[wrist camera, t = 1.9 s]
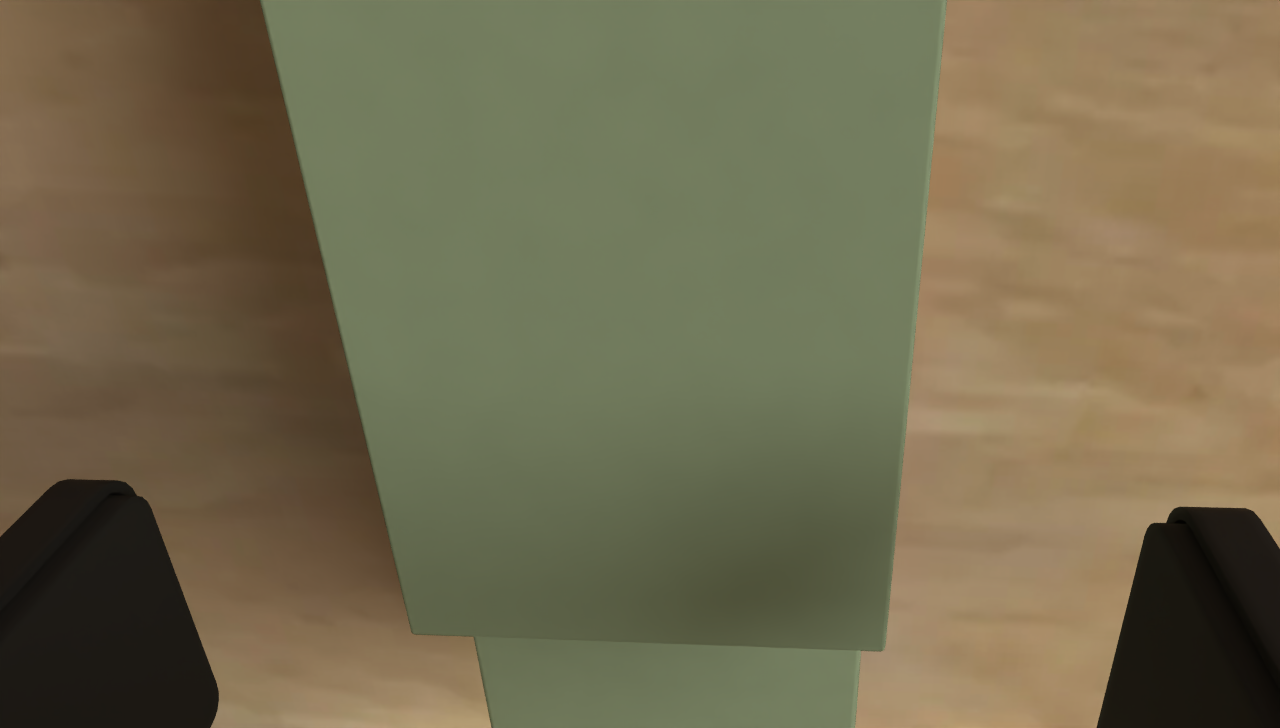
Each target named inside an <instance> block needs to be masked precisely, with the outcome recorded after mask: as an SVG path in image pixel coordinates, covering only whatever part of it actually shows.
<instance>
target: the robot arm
mask: <svg viewBox="0 0 1280 728" xmlns="http://www.w3.org/2000/svg"><path fill="white" fill-rule="evenodd" d="M218 702H219V691H218V687H217V683H216V680H215V678H214V675H213V672H212V670H211V667H210V664H209V662H208V659H207V656H206V654H205V651H204V648H203V646H202V643H201V640H200V638H199V635H198V632H197V630H196V627H195V624H194V622H193V619H192V616H191V614H190V611H189V608H188V606H187V603H186V600H185V598H184V595H183V592H182V590H181V587H180V584H179V582H178V579H177V576H176V574H175V571H174V568H173V565H172V563H171V560H170V557H169V555H168V552H167V549H166V547H165V544H164V541H163V539H162V536H161V533H160V531H159V528H158V525H157V523H156V520H155V517H154V515H153V512H152V509H151V507H150V505H149V504H148V502H147V501H146V500H145V499H144V498H143V497H139V496H137V495H136V494H135V492H134V490H133V488H132V487H130V486H129V485H128V484H127V483H126V482H122V481H115V480H75V479H67V480H63V481H59V482H57V483H56V484H54V485H53V486H52V487H50V488H49V489H48V490H47V491H46V492H45V493H44V494H43V495H42V496H41V497H40V498H39V499H38V500H37V501H36V502H35V503H34V504H33V505H32V506H31V507H30V508H29V509H28V510H27V511H26V512H25V513H24V514H23V515H22V516H21V517H20V518H19V519H18V520H17V521H16V522H15V523H14V524H13V525H12V526H11V527H10V528H9V529H8V530H7V531H6V532H5V533H4V534H3V535H2V536H1V537H0V728H210V727H211V725H212V723H213V721H214V719H215V716H216V712H217V709H218ZM1097 728H1280V549H1279V547H1278V546H1277V544H1276V542H1275V541H1274V539H1273V538H1272V536H1271V535H1270V533H1269V532H1268V530H1267V529H1266V527H1265V526H1264V524H1263V523H1262V521H1261V519H1260V518H1259V517H1258V516H1257V515H1256V514H1255V513H1254V512H1253V511H1251V510H1249V509H1246V508H1209V507H1178V508H1175V509H1174V510H1173V511H1172V512H1171V513H1170V515H1169V517H1168V520H1167V522H1166V523H1153V524H1151V525H1150V526H1149V527H1148V528H1147V531H1146V534H1145V536H1144V540H1143V544H1142V548H1141V552H1140V556H1139V560H1138V564H1137V568H1136V572H1135V576H1134V580H1133V584H1132V588H1131V592H1130V596H1129V600H1128V604H1127V608H1126V612H1125V616H1124V620H1123V624H1122V628H1121V632H1120V636H1119V640H1118V644H1117V648H1116V652H1115V656H1114V660H1113V664H1112V668H1111V672H1110V676H1109V680H1108V685H1107V689H1106V693H1105V697H1104V701H1103V705H1102V709H1101V713H1100V717H1099V721H1098V725H1097Z"/></svg>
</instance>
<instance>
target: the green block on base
mask: <svg viewBox="0 0 1280 728" xmlns="http://www.w3.org/2000/svg"><path fill="white" fill-rule="evenodd" d="M260 3H261V7H262V11H263V15H264V19H265V23H266V28H267V32H268V36H269V40H270V44H271V48H272V53H273V57H274V61H275V65H276V69H277V74H278V78H279V82H280V86H281V90H282V94H283V99H284V103H285V107H286V111H287V115H288V119H289V124H290V128H291V132H292V136H293V140H294V144H295V149H296V153H297V157H298V161H299V165H300V169H301V174H302V178H303V182H304V186H305V190H306V194H307V199H308V203H309V207H310V211H311V215H312V219H313V224H314V228H315V232H316V236H317V240H318V244H319V249H320V253H321V257H322V261H323V265H324V269H325V274H326V278H327V282H328V286H329V290H330V294H331V299H332V303H333V307H334V311H335V315H336V319H337V324H338V328H339V332H340V336H341V340H342V344H343V349H344V353H345V357H346V361H347V365H348V369H349V374H350V378H351V382H352V386H353V390H354V394H355V399H356V403H357V407H358V411H359V415H360V419H361V424H362V428H363V432H364V436H365V440H366V445H367V449H368V453H369V457H370V461H371V465H372V470H373V474H374V478H375V482H376V486H377V490H378V495H379V499H380V503H381V507H382V511H383V515H384V520H385V524H386V528H387V532H388V536H389V540H390V545H391V549H392V553H393V557H394V561H395V565H396V570H397V574H398V578H399V582H400V586H401V590H402V595H403V599H404V603H405V607H406V611H407V615H408V620H409V624H410V628H411V632H412V633H413V634H416V635H444V636H471V637H474V641H475V646H476V651H477V656H478V661H479V666H480V671H481V676H482V681H483V686H484V692H485V697H486V702H487V707H488V712H489V717H490V722H491V727H492V728H855V722H856V709H857V696H858V684H859V671H860V658H861V651H883V650H884V648H885V644H886V633H887V623H888V612H889V602H890V591H891V581H892V570H893V560H894V549H895V539H896V529H897V518H898V508H899V497H900V487H901V476H902V466H903V455H904V445H905V434H906V424H907V413H908V403H909V392H910V382H911V371H912V361H913V350H914V340H915V330H916V319H917V309H918V298H919V288H920V277H921V267H922V256H923V246H924V235H925V225H926V214H927V204H928V193H929V183H930V172H931V162H932V151H933V141H934V131H935V120H936V110H937V99H938V89H939V78H940V68H941V57H942V47H943V36H944V26H945V15H946V5H947V0H260Z"/></svg>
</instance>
